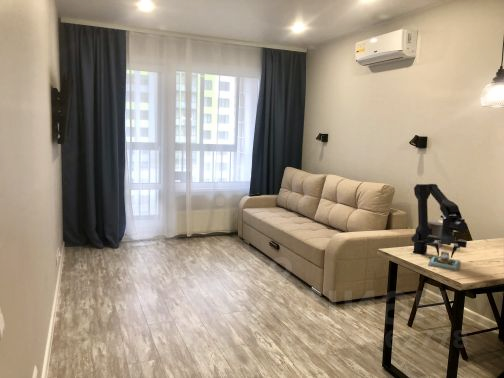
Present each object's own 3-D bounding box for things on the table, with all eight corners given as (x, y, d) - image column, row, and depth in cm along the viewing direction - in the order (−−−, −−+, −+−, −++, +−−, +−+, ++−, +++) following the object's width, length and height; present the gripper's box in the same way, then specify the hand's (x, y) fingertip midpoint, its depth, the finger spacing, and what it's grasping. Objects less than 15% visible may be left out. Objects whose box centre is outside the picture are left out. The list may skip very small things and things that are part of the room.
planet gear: (435, 264, 214) (436, 252, 213) (437, 260, 220) (438, 249, 220) (451, 266, 211) (452, 255, 210) (452, 263, 217) (453, 252, 216)
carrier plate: (428, 265, 213) (428, 260, 212) (431, 256, 228) (432, 251, 228) (457, 271, 206) (458, 265, 206) (459, 261, 222) (460, 256, 221)
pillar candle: (425, 245, 252) (427, 221, 250) (424, 241, 261) (427, 218, 259) (442, 247, 249) (445, 223, 246) (441, 243, 258) (444, 220, 255)
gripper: (426, 228, 210) (423, 257, 213) (467, 234, 201) (463, 264, 204) (429, 224, 220) (426, 252, 222) (468, 229, 211) (464, 258, 213)
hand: (444, 256), depth 215 cm, fingers open, 6 cm apart
